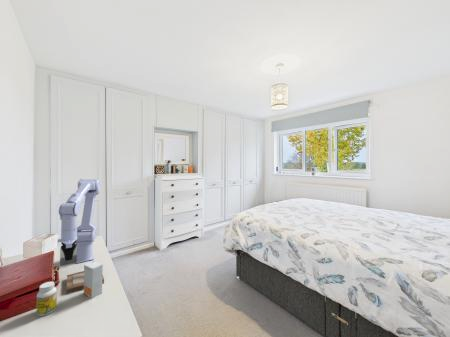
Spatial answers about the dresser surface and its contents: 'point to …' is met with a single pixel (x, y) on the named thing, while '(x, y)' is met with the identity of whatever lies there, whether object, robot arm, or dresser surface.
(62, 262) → the housing
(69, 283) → the walnut stand
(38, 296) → the supplement bottle
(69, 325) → the dresser surface
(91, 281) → the skincare box
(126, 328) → the dresser surface
